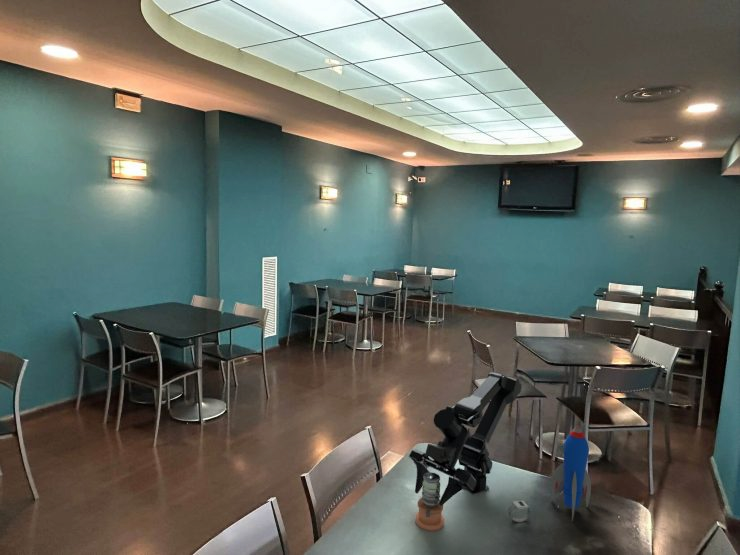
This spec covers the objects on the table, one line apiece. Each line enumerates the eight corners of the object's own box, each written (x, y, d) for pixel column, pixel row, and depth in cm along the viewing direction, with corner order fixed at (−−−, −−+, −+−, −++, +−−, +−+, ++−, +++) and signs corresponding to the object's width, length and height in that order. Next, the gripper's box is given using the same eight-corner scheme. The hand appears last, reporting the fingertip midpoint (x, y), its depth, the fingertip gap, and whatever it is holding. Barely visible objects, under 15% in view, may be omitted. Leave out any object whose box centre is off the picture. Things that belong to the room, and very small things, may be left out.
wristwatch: (511, 525, 121) (512, 508, 120) (506, 518, 123) (507, 501, 123) (532, 523, 122) (533, 505, 121) (526, 516, 124) (528, 499, 124)
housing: (426, 509, 126) (427, 491, 126) (449, 521, 121) (450, 503, 121) (409, 521, 121) (410, 503, 120) (433, 535, 116) (434, 516, 115)
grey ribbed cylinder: (428, 496, 124) (429, 470, 123) (442, 503, 121) (444, 476, 120) (418, 503, 120) (419, 476, 120) (432, 511, 117) (434, 484, 116)
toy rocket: (589, 506, 130) (596, 422, 127) (596, 527, 121) (604, 438, 118) (548, 499, 133) (555, 417, 130) (552, 519, 123) (559, 432, 121)
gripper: (414, 421, 128) (387, 473, 121) (473, 443, 115) (447, 503, 108) (429, 438, 134) (404, 488, 127) (486, 461, 122) (462, 519, 115)
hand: (427, 498), depth 119 cm, fingers open, 7 cm apart
